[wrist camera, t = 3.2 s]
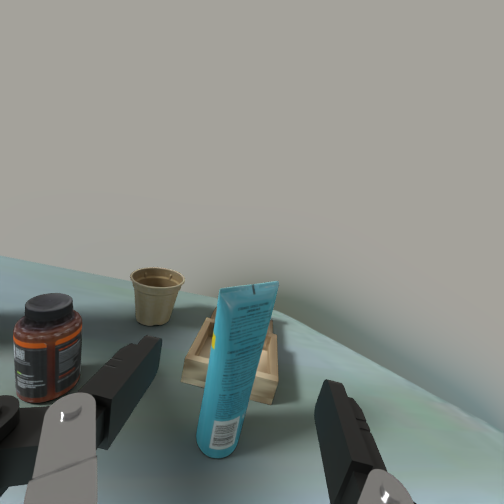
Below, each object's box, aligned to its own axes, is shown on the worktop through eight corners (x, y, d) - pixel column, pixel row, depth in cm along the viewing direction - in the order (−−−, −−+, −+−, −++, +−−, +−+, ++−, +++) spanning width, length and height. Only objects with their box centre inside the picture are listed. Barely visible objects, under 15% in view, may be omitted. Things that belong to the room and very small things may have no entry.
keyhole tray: (180, 381, 33) (186, 352, 32) (215, 310, 54) (219, 290, 52) (271, 405, 33) (280, 375, 32) (271, 324, 53) (277, 304, 52)
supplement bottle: (87, 365, 33) (92, 291, 30) (67, 404, 27) (70, 317, 24) (34, 365, 31) (33, 286, 28) (1, 407, 25) (-4, 313, 22)
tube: (227, 404, 32) (261, 271, 27) (253, 434, 29) (296, 289, 24) (176, 439, 26) (206, 279, 21) (201, 480, 23) (243, 305, 18)
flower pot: (136, 302, 50) (140, 263, 48) (182, 308, 52) (188, 271, 49) (117, 328, 41) (121, 282, 39) (173, 335, 43) (180, 291, 40)
